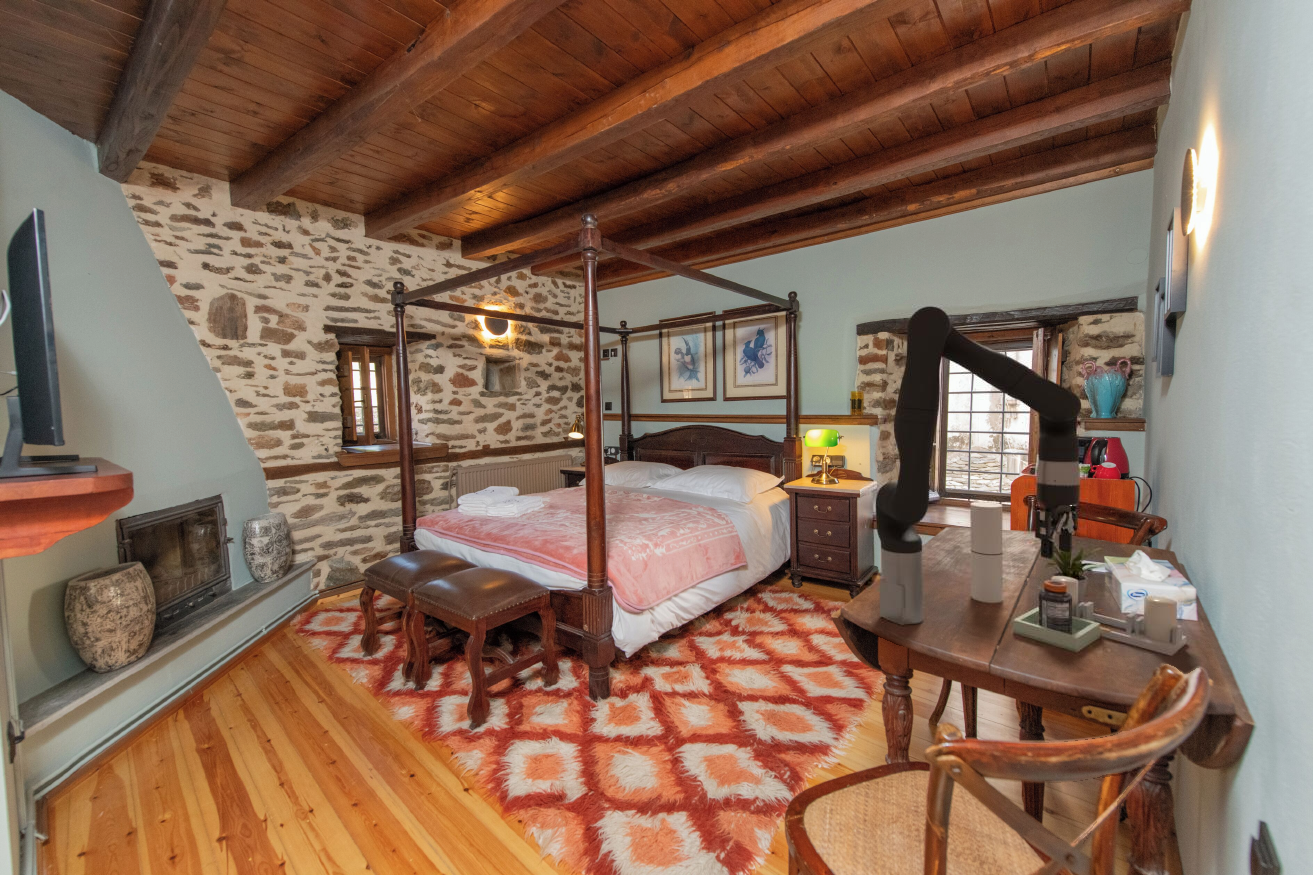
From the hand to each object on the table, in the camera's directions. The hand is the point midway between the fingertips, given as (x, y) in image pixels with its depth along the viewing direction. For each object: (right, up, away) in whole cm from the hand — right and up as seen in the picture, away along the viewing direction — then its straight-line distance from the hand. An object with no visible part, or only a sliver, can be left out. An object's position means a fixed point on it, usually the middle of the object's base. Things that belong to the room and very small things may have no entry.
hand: (1056, 554), depth 117 cm
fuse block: (+14, -18, +2) cm, 22 cm away
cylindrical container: (0, -17, +24) cm, 30 cm away
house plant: (+18, -16, +22) cm, 32 cm away
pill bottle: (+1, -18, +1) cm, 18 cm away
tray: (+1, -18, +2) cm, 18 cm away
